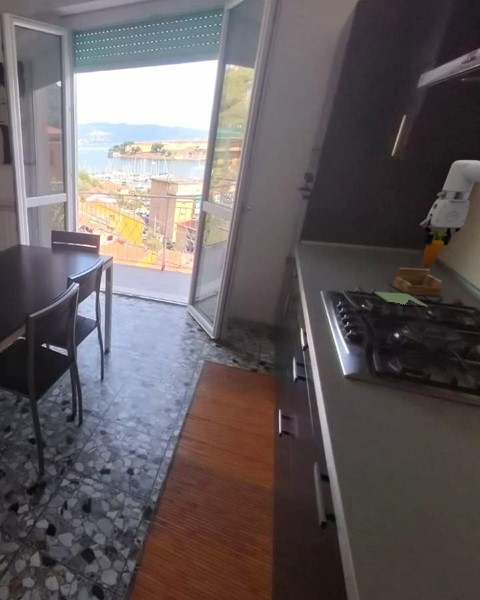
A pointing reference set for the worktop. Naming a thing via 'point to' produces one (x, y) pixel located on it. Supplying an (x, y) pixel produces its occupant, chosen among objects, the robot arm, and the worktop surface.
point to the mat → (398, 298)
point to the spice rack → (417, 282)
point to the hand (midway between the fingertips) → (435, 243)
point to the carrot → (433, 249)
